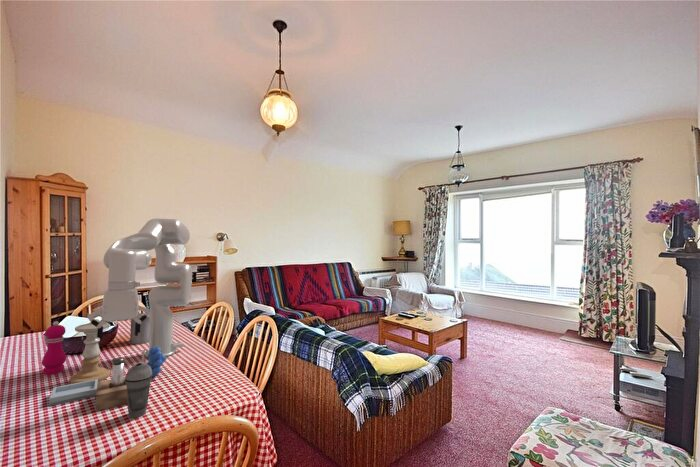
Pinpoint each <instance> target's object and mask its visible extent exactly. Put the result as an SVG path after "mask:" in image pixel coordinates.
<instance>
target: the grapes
mask: <svg viewBox="0 0 700 467" xmlns="http://www.w3.org/2000/svg"><path fill="white" fill-rule="evenodd" d="M160 351H161V349H160V348H159V347H152V348H151V349H150V351H149V352H150V353H149V354H148V356H147V357H148V361H147V363H146V364H147V365H149V366H150V367H151V369H152V374H153V376H152V378H153V377H154V378H155V377H157V376H158V375H159V374H160V373H161V372H162V370H163V368H162V367H161V366H163V364H164V363H165V362H166V360H167V357H165V356H163V354H162V353H161V352H160ZM147 357H146V358H147Z"/></svg>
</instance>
